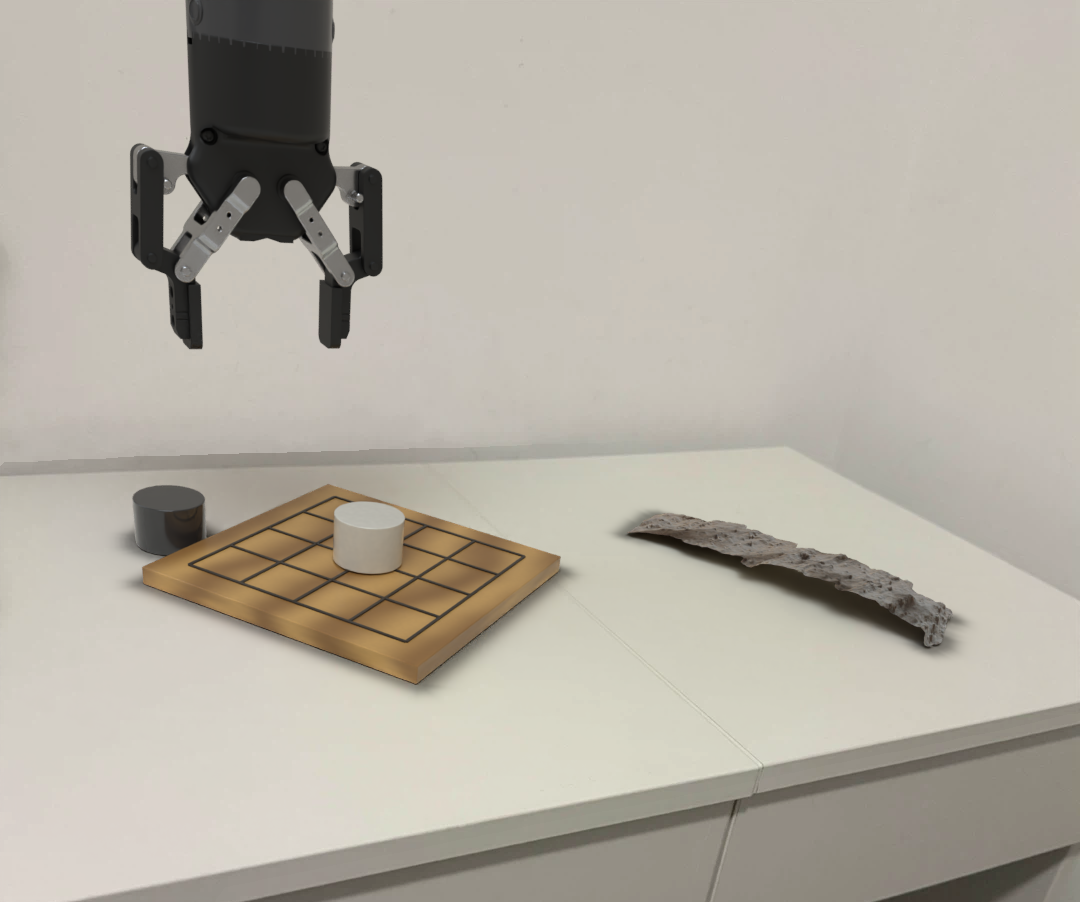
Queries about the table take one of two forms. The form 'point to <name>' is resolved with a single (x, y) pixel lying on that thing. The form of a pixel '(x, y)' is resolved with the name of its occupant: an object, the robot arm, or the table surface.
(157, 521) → the black stone
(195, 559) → the board
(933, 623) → the stone fragment
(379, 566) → the pale stone
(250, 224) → the robot arm
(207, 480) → the table surface
